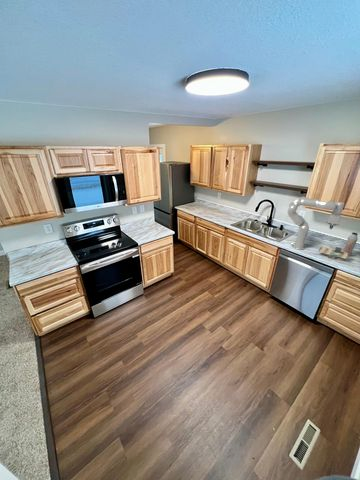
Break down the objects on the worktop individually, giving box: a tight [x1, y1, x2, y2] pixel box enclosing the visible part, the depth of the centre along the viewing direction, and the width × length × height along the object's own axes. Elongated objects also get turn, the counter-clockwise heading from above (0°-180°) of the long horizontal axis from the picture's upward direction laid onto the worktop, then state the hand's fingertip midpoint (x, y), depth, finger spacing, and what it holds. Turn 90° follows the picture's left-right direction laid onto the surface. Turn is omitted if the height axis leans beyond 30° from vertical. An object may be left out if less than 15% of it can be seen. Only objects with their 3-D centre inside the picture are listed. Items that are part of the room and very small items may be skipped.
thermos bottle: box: [342, 232, 359, 258], centre depth 218 cm, size 8×8×28 cm
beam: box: [318, 246, 348, 260], centre depth 219 cm, size 26×6×8 cm, turn 52°
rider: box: [334, 246, 342, 253], centre depth 215 cm, size 5×5×7 cm
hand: (330, 228), depth 218 cm, fingers closed
